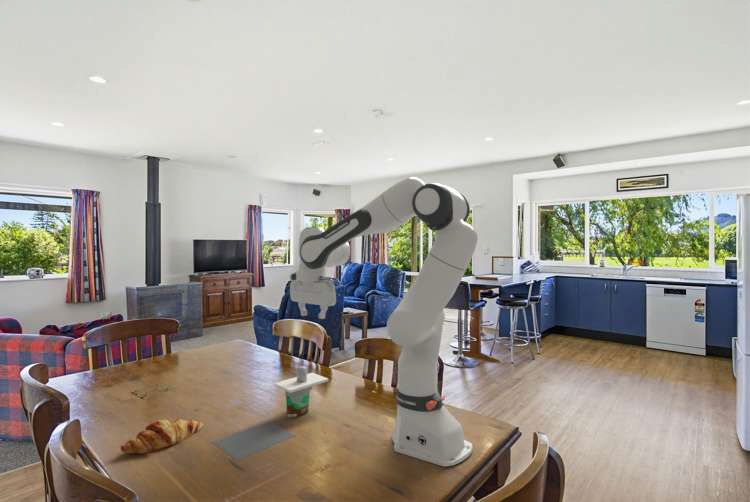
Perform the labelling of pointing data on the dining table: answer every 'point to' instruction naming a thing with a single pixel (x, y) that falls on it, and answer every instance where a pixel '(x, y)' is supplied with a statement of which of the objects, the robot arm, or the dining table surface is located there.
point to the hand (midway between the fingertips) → (312, 317)
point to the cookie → (155, 392)
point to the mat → (252, 440)
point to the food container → (297, 402)
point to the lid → (301, 380)
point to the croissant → (161, 435)
